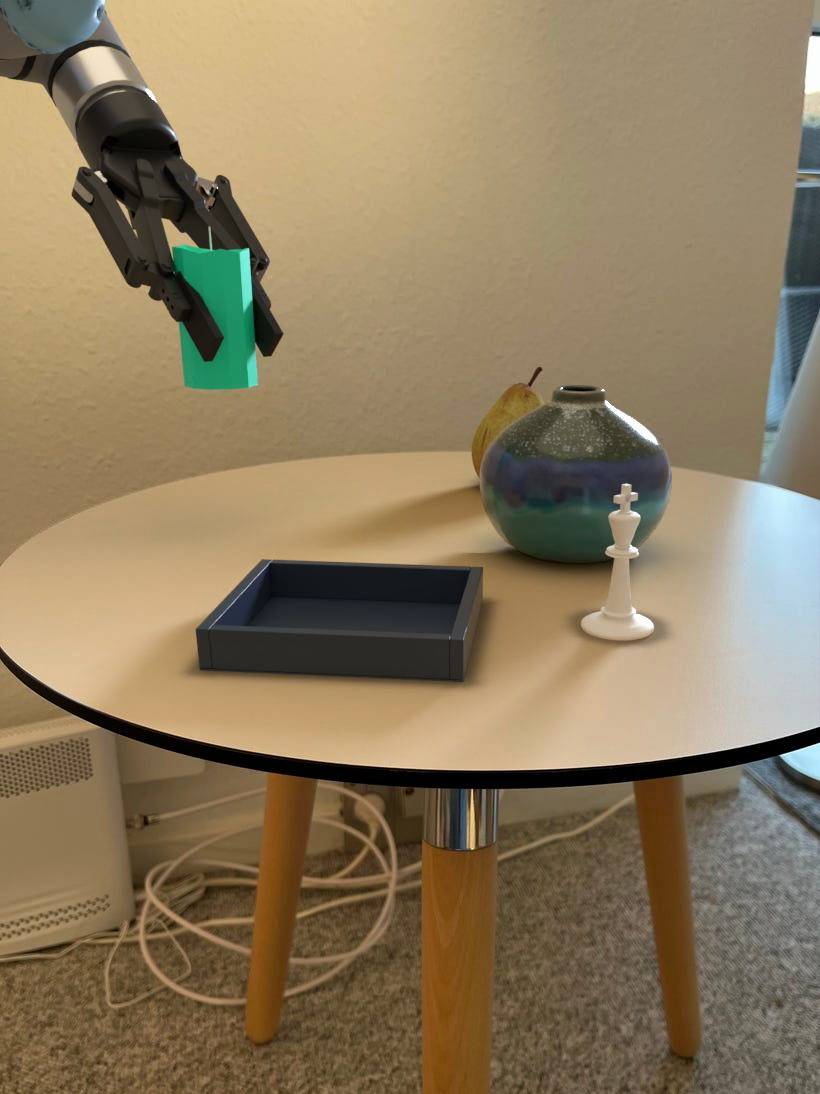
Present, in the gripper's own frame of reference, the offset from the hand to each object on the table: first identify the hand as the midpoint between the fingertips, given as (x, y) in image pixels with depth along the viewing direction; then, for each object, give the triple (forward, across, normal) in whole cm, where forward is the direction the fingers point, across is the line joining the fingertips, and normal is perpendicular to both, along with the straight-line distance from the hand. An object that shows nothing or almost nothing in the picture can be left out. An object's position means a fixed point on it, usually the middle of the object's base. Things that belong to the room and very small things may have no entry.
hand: (244, 347), depth 80 cm
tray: (+27, +8, +5) cm, 29 cm away
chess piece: (+35, -5, +13) cm, 38 cm away
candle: (0, 0, -5) cm, 5 cm away
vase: (+26, -17, +3) cm, 31 cm away
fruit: (+12, -31, -11) cm, 35 cm away
